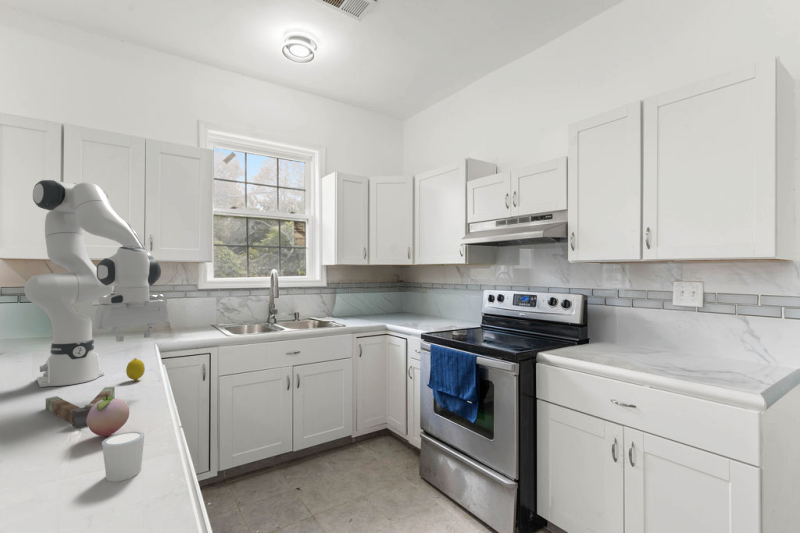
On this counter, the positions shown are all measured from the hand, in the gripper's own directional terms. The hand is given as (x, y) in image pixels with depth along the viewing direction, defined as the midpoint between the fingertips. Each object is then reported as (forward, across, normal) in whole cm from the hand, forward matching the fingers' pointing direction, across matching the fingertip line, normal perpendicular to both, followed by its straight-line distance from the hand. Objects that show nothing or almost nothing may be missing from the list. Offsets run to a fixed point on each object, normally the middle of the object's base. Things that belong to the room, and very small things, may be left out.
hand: (134, 339), depth 130 cm
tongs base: (+17, +18, +6) cm, 26 cm away
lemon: (+18, -7, -16) cm, 25 cm away
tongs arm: (+17, +11, +6) cm, 21 cm away
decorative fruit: (+18, +19, +32) cm, 41 cm away
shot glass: (+18, +25, +55) cm, 63 cm away
